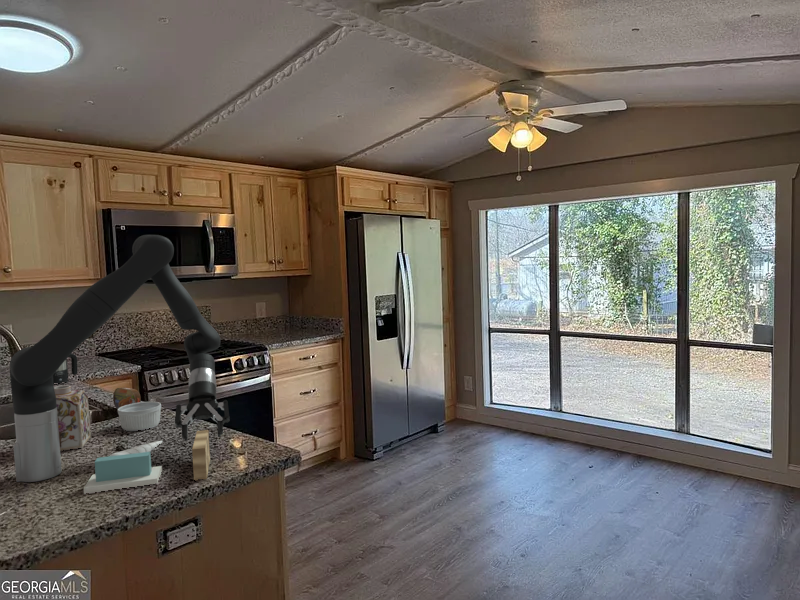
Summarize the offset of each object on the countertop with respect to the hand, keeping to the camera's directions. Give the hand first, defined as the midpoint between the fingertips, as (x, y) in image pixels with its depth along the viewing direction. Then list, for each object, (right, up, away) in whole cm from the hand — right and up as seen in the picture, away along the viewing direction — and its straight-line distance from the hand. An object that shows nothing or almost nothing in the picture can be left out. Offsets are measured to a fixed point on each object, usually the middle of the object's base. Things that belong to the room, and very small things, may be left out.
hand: (202, 437), depth 153 cm
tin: (-48, -4, +57) cm, 75 cm away
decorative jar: (-47, -7, +17) cm, 51 cm away
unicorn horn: (-20, -7, +5) cm, 22 cm away
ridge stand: (-14, -8, -14) cm, 21 cm away
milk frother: (-110, -2, +115) cm, 159 cm away
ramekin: (-33, -5, +35) cm, 48 cm away
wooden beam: (+2, -7, -6) cm, 9 cm away
